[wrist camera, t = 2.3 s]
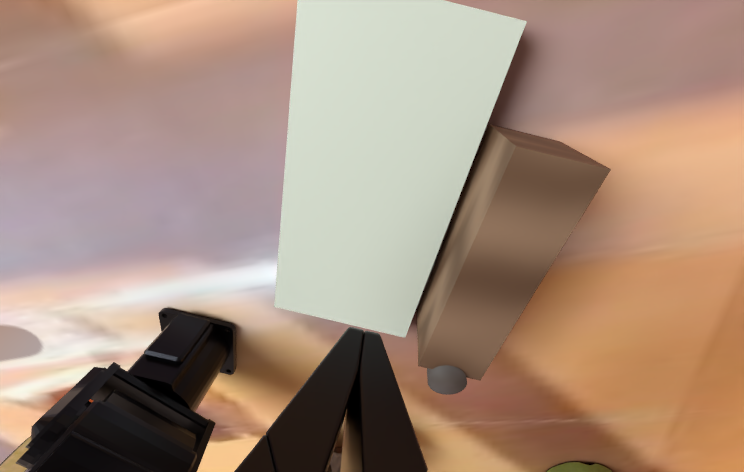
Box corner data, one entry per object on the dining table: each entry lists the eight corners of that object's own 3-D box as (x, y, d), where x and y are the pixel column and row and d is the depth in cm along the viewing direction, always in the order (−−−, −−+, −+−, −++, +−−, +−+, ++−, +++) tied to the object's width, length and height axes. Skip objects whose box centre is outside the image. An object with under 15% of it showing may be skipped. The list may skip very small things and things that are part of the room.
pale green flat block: (405, 320, 25) (405, 337, 24) (282, 291, 25) (274, 306, 23) (514, 25, 15) (526, 21, 14) (311, -26, 15) (300, -36, 13)
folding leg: (459, 337, 25) (471, 400, 20) (410, 325, 25) (411, 386, 20) (559, 141, 17) (614, 171, 13) (488, 123, 17) (518, 147, 13)
